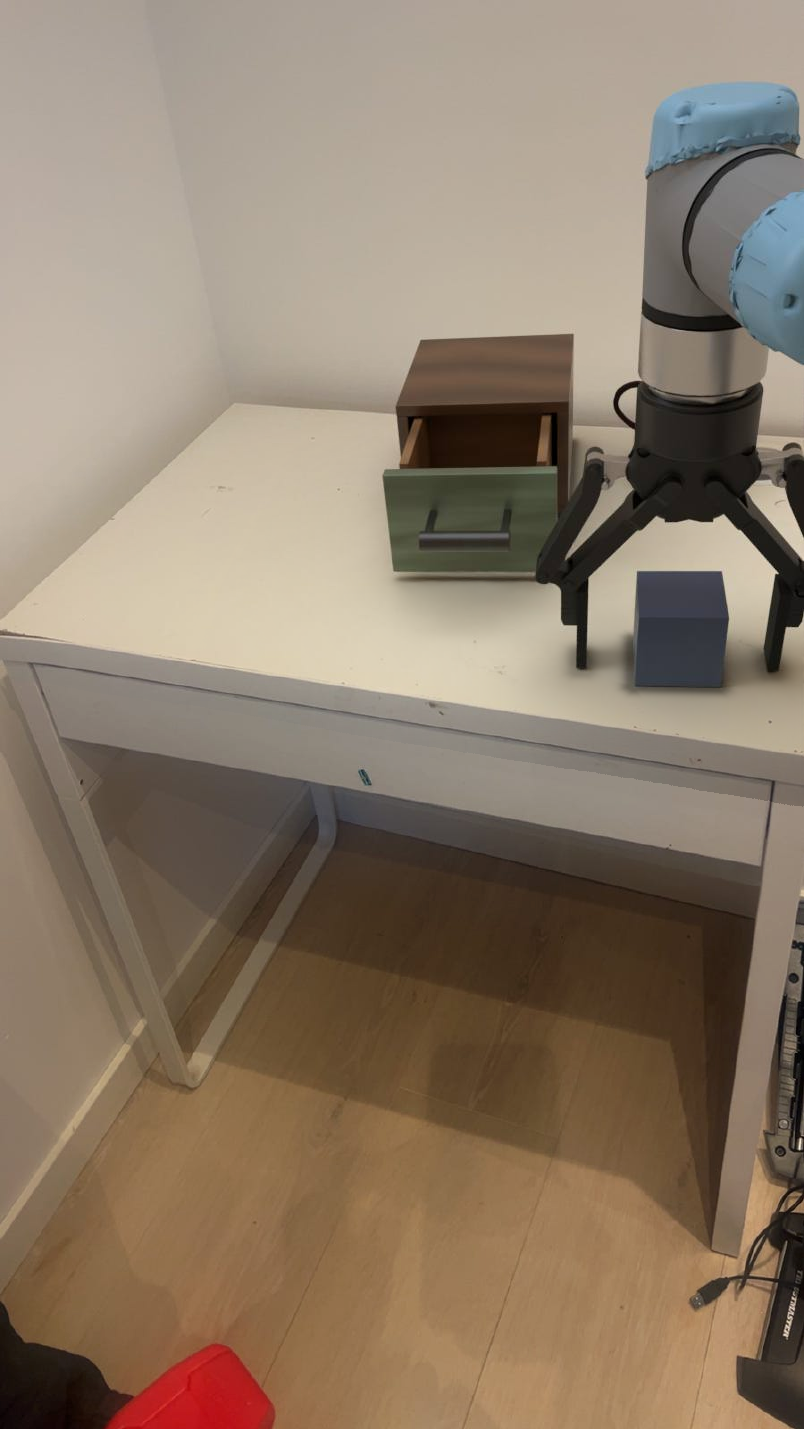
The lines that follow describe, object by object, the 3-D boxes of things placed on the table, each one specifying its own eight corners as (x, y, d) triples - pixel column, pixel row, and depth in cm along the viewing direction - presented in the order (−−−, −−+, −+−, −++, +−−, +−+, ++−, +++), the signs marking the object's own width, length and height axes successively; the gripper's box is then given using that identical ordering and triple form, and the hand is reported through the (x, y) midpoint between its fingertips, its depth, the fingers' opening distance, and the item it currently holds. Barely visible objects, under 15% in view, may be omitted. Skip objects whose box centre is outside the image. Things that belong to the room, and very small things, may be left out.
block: (720, 687, 74) (729, 618, 70) (634, 685, 75) (638, 617, 71) (714, 638, 79) (722, 570, 75) (633, 637, 80) (636, 570, 76)
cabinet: (568, 516, 95) (569, 401, 88) (406, 518, 98) (395, 406, 91) (572, 440, 107) (573, 333, 100) (429, 443, 110) (420, 339, 103)
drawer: (554, 608, 82) (554, 505, 76) (382, 607, 84) (370, 508, 79) (562, 488, 97) (563, 396, 91) (417, 490, 100) (408, 400, 94)
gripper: (905, 349, 64) (844, 630, 77) (500, 363, 68) (509, 627, 82) (933, 399, 58) (862, 693, 72) (490, 411, 63) (502, 686, 76)
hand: (674, 658), depth 77 cm, fingers open, 13 cm apart
